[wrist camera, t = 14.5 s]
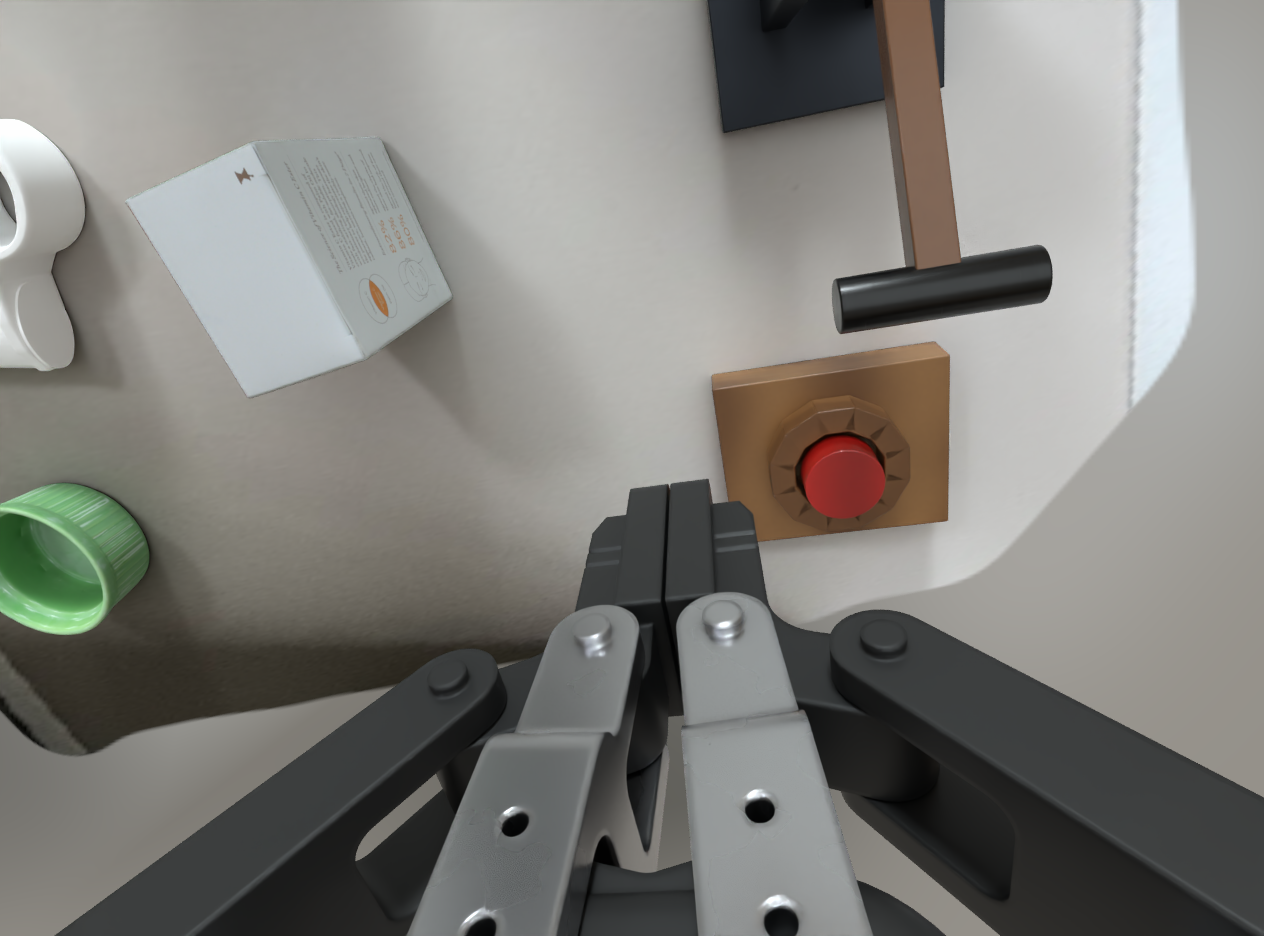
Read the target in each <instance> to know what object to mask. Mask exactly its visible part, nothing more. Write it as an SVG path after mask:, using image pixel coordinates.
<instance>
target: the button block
mask: <svg viewBox="0 0 1264 936" xmlns="http://www.w3.org/2000/svg"><path fill="white" fill-rule="evenodd" d="M949 387H950V355H949V354H948V353H947V352H946V351H945V350H944V349H943V348H941V347H940V346H939V345H938V344H937V343H936V342H928V343H921V344H914V345H908V346H901V347H894V348H888V349H881V350H875V351H868V352H861V353H855V354H848V355H841V356H835V357H828V358H821V359H815V360H808V361H801V362H795V363H788V364H781V365H775V366H768V367H762V368H755V369H748V370H742V371H735V372H728V373H722V374H715V375H712V392H713V399H714V406H715V413H716V419H717V426H718V433H719V440H720V447H721V454H722V461H723V467H724V474H725V481H726V488H727V495H728V502H733V501H740V502H741V503H742V504H743V505H744V506H745V507H746V508H747V509H749V510H750V511H751V512H752V513H753V516H754V522H755V528H756V535H757V541H758V542H760V541H769V540H778V539H788V538H797V537H806V536H815V535H824V534H833V533H843V532H852V531H861V530H870V529H879V528H888V527H898V526H907V525H916V524H925V523H934V522H943V521H948V479H949ZM838 435H846V436H852V437H856V438H858V439H860V440H862V441H864V442H865V443H866V444H868V445H869V446H870V447H871V449H872V450H873V452H874V453H875V455H876V457H877V459H878V461H879V463H880V465H881V466H882V468H883V471H884V474H885V488H884V492H883V494H882V496H881V498H880V499H879V501H878V502H877V503H876V505H875V506H874V507H872V508H871V509H870V510H869V511H867V512H865V513H863V514H861V515H859V516H856V517H853V518H846V519H838V518H832V517H828V516H826V515H823V514H822V513H820V512H818V511H817V510H816V509H815V508H814V507H813V506H812V505H811V504H810V502H809V500H808V498H807V496H806V492H805V489H804V485H803V482H802V479H801V465H802V461H803V459H804V457H805V455H806V453H807V452H808V451H809V450H810V449H811V448H812V447H813V446H814V445H815V444H816V443H818V442H820V441H821V440H823V439H826V438H828V437H832V436H838Z"/></svg>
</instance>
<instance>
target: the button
mask: <svg viewBox="0 0 1264 936" xmlns="http://www.w3.org/2000/svg"><path fill="white" fill-rule="evenodd" d="M801 479H802V482H803V485H804V489H805V492H806V496H807V498H808V500H809V502H810V504H811V505H812V506H813V507H814V508H815V509H816V510H817V511H818V512H820V513H822V514H823V515H826V516H828V517H832V518H838V519H846V518H853V517H856V516H859V515H861V514H863V513H865V512H867V511H869V510H870V509H871V508H872V507H874V506H875V505H876V503H877V502H878V501H879V499H880V498H881V496H882V494H883V492H884V488H885V474H884V471H883V468H882V466H881V465H880V463H879V461H878V459H877V457H876V455H875V453H874V452H873V450H872V449H871V447H870V446H869V445H868V444H866V443H865V442H864V441H862V440H860V439H858V438H856V437H852V436H846V435H838V436H832V437H828V438H826V439H823V440H821V441H820V442H818V443H816V444H815V445H814V446H813V447H812V448H811V449H810V450H809V451H808V452H807V453H806V455H805V457H804V459H803V461H802V465H801Z"/></svg>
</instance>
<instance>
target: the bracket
mask: <svg viewBox="0 0 1264 936" xmlns="http://www.w3.org/2000/svg"><path fill="white" fill-rule="evenodd" d="M929 1H930V9H931V18H932V26H933V34H934V42H935V50H936V58H937V67H938V75H939V83H940V88H943V87H944V22H945V0H929ZM707 7H708V15H709V24H710V32H711V41H712V49H713V58H714V66H715V74H716V83H717V91H718V100H719V108H720V116H721V125H722V132H723V133H727V132H732V131H736V130H741V129H746V128H751V127H756V126H760V125H765V124H770V123H775V122H780V121H785V120H789V119H794V118H799V117H804V116H809V115H813V114H818V113H823V112H828V111H833V110H837V109H842V108H847V107H852V106H857V105H861V104H866V103H871V102H876V101H881V100H885V95H884V87H883V79H882V71H881V63H880V55H879V47H878V39H877V31H876V23H875V15H874V7H873V0H707Z"/></svg>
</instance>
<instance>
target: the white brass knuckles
mask: <svg viewBox="0 0 1264 936" xmlns="http://www.w3.org/2000/svg"><path fill="white" fill-rule="evenodd" d="M0 172H1V173H2V174H3V176H4V177H5V179H6V181H7V183H8V185H9V187H10V189H11V192H12V195H13V199H14V205H15V213H16V220H17V224H16V223H15V222H14V221H13V219H12V218H11V217H10V216H9V214H8V213H7V211H6V209H5V207H4V205H3V203H2V201H1V198H0V368H37V369H38V370H39V371H50V370H53V369H56V368H64V367H66V366H68V365H69V364H70V363H71V361H72V359H73V356H74V346H75V345H74V334H73V329H72V325H71V322H70V319H69V317H68V315H67V312H66V311H65V307H64V304H63V302H62V299H61V297H60V294H59V291H58V289H57V286H56V284H55V281H54V279H53V276H52V273H51V270H52V266H53V262H54V258H55V254H56V252H58V251H61V250H63V249H65V248H67V247H68V246H70V245H71V244H72V243H73V242H74V241H75V240H76V239H77V237H78V236H79V234H80V232H81V230H82V227H83V224H84V219H85V202H84V196H83V192H82V189H81V186H80V183H79V180H78V178H77V176H76V174H75V172H74V170H73V168H72V167H71V165H70V163H69V162H68V160H67V159H66V158H65V156H64V155H63V154H62V152H61V151H60V150H59V149H58V148H57V147H56V146H55V145H54V144H53V143H52V142H51V141H50V140H49V139H48V138H47V137H46V136H44V135H43V134H42V133H40V132H39V131H38V130H36V129H35V128H33V127H31V126H29V125H28V124H26V123H24V122H21V121H19V120H14V119H0Z"/></svg>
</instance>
